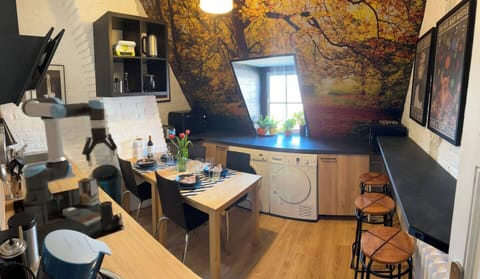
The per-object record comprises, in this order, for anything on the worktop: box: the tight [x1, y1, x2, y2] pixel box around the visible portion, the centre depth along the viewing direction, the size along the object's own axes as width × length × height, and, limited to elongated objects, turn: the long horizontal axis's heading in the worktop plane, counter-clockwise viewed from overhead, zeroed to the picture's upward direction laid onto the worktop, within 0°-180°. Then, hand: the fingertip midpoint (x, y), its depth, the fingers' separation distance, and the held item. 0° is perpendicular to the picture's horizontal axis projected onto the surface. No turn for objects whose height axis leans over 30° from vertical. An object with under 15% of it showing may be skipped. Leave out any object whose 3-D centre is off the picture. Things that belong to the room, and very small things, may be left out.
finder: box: [61, 206, 79, 218], centre depth 167 cm, size 6×5×3 cm
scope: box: [98, 200, 124, 232], centre depth 151 cm, size 8×14×10 cm
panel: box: [61, 207, 101, 227], centre depth 165 cm, size 23×12×1 cm, turn 60°
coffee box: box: [77, 177, 101, 207], centre depth 182 cm, size 9×6×16 cm
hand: (101, 163), depth 172 cm, fingers open, 13 cm apart
